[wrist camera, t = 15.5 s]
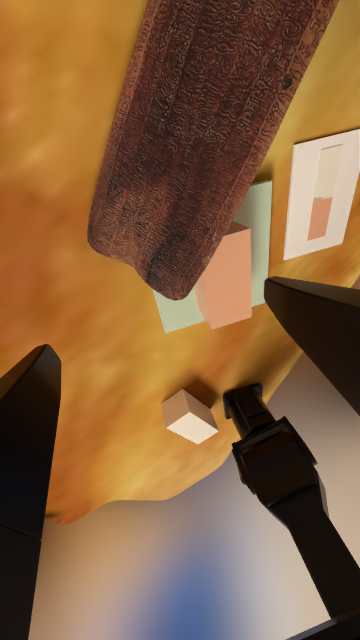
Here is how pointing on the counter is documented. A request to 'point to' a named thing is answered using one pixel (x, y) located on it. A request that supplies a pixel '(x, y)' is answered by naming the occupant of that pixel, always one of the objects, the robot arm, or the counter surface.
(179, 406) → the cream brick
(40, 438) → the robot arm
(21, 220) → the counter surface
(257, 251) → the baseplate
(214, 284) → the terracotta brick
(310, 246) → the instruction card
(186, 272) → the wooden tablet
